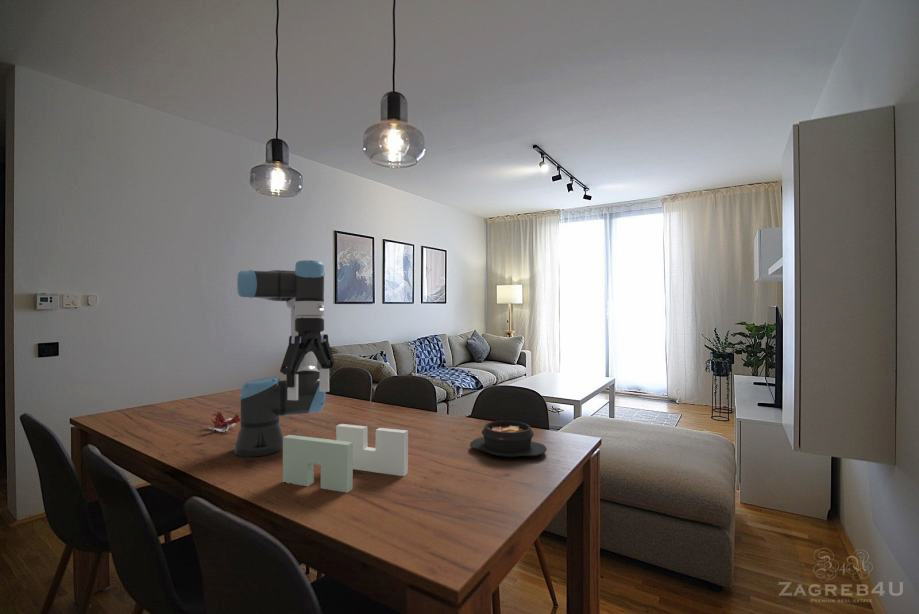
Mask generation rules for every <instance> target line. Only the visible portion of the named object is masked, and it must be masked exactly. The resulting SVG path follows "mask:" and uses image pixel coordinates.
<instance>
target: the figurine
mask: <svg viewBox="0 0 919 614" xmlns="http://www.w3.org/2000/svg"><path fill="white" fill-rule="evenodd" d="M211 415H213V416H215V417H214V420H213V419H210V421H211V422H212V423H213V426H212V427H211V426H208V427H207V428H208V429H210V430H211V431H214V432H218V433H221V432H223V433H225V431H226V432H228V431H229V429H230V427H232V428H234V427H235V426H236V425H237V424H238V423H239V422H241V416H240V414H234V417H233V418H231V417H229V418H224V415H222V412H221V411H219V410H216V411H215V412H214V413H212V414H211ZM215 430H216V431H215Z"/></svg>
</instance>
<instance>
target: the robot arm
mask: <svg viewBox="0 0 919 614" xmlns="http://www.w3.org/2000/svg"><path fill="white" fill-rule="evenodd" d="M294 265H295V267H294V270H281V269H276V270H275V269H274V270H265V271H264V270H241V271H238V273H237V281H236V283H237V284H236V285H237V286H236V287H237V294H238V296H239V297H242V298H249V299H251V298H252V299H253V298H258V299H263V300H266V301H267V300H268V301H273V302H286V303H285V304H286V306H287V308H289V310H290V335H289V337H288V346H287V348H286V352H285V354H284V357H283V360H282V364H281V367H280V369H279V371H280V373H281V374H283V375H286V380H281V378H280V376H277V375H274V376H272V375H271V376H270V375H269V376H265V377H264V376H263V377H258V378H254V379H251V380H248V381H246V382H244V383H242V385H241V388H240V396H239V399H240V417H241V418H240V420H241V421H240V427H239V431H238V433H237V438H236V442H235V443H234V446H233V449H234V450H233V452H234V455H236V456H237V457H238V456H239V457H244V458H246V457H247V458H249V457H261V456H267V455H272V454H274V453H277V452H280V451H283V437H284V436H283V431H282V428H281V423H280V417H282V416H294V415H303V414H314V413H319V412H321V411H322V410H323V409H324V405H325V400H326V393H328V392H330V375H331V372H330V369H333V368H334V366H335V359H334V356H333V352H332V349H331V345H330V342H329V335H328V334H325V333H324V334H323V333H322V334H321V332H324V331H325V319H324V318H323V317H324V315H325V303H324V302H325V295H324V294H325V293H324V292H325V268H324V267H325V265H324V263H323V262H322V261H317V260H311V259H309V260H308V259H307V260H298V261H296V262H295V264H294ZM318 363H319V365H320V367H321V368H319V369H318Z"/></svg>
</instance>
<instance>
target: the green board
mask: <svg viewBox="0 0 919 614" xmlns="http://www.w3.org/2000/svg"><path fill="white" fill-rule="evenodd" d="M314 465H318V466H320V489H323V490H328V491H336V492H341V493H349V492H350V491H352V490H353V487H354V486H353V484H354V482H353V479H354V477H353V475H354V474H353V473H354V469H353V442H347V441H338V440H336V439H328V438H320V437H310V436H303V435H296V434H295V435H294V434H287V435H285V436H283V449H282V483H284V482H286V483H285V484H290V483H292V484H291V485H297V486H304V487H309V486H311V485H312V484H314V480H315V477H314V475H315V474H314V471H315V470H314V468H315V467H314Z"/></svg>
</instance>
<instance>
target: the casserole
mask: <svg viewBox="0 0 919 614" xmlns="http://www.w3.org/2000/svg"><path fill="white" fill-rule="evenodd" d="M483 427H484V428H483V429H482V431H481V434H482V437H481V436H480V437H477V438H475V439H473V440H472V441H470V443H469V446H470V447H471V448H472V449H475V450H479V451H482V452H484V453H488V454H491V455H495V456H497V457H501V458H516V457H517V458H518V457H523V456H524V457H537V456H541V455H543V454H545V452H547V446H545V445H544V444H543V443H540V442H537V441H532V438H533V437H534V435H535V432H534V431H532V428H531V427H532V426H530V424H527V423H525V422H522V421H517V420H496V421H495V420H494V421H491V422H490V421H489V422H487V423H486V424H485V425H484V426H483Z"/></svg>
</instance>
